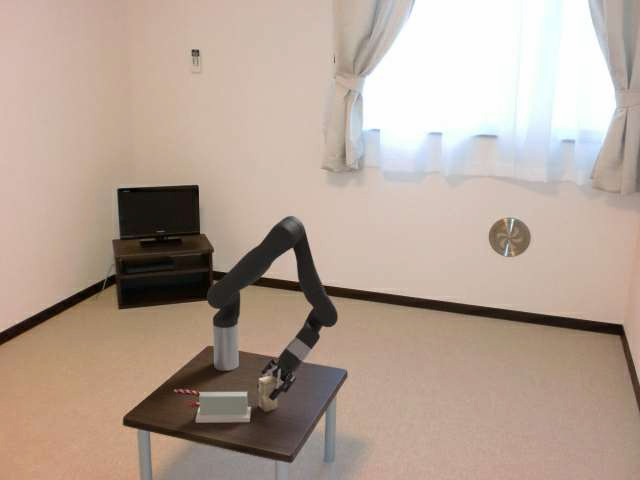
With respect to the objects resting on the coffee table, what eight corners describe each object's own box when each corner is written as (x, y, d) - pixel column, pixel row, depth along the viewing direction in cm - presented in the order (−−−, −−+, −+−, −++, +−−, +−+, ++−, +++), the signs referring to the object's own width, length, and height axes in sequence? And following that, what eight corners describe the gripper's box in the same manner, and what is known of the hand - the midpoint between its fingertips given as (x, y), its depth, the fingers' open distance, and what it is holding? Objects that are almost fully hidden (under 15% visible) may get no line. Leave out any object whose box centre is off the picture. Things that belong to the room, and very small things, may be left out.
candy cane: (180, 385, 221) (214, 395, 214) (180, 388, 221) (214, 399, 214) (165, 394, 214) (199, 405, 207) (165, 397, 215) (199, 409, 207)
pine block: (259, 405, 209) (258, 378, 207) (270, 402, 212) (270, 375, 209) (265, 411, 206) (265, 384, 203) (277, 408, 208) (277, 380, 205)
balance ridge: (199, 411, 205) (198, 389, 203) (251, 410, 206) (250, 388, 204) (195, 422, 198) (195, 399, 196) (249, 422, 199) (249, 399, 197)
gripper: (277, 341, 214) (247, 379, 210) (298, 356, 202) (267, 397, 199) (291, 352, 218) (261, 390, 214) (312, 367, 206) (282, 408, 203)
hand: (264, 393), depth 207 cm, fingers open, 8 cm apart
